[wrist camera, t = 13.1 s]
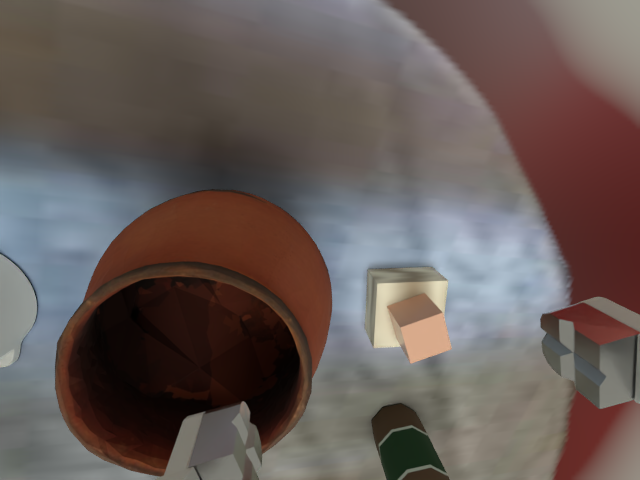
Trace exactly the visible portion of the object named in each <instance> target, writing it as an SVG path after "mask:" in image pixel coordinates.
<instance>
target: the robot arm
mask: <svg viewBox="0 0 640 480" xmlns="http://www.w3.org/2000/svg"><path fill="white" fill-rule="evenodd" d="M36 314H37V301H36V297H35V293H34V290H33V288H32V286H31V284H30V282H29V281H28V279H27V278H26V276H25V275H24V274H23V272H22V271H21V270H20V269H19V268H18V267H17V266H16V265H15V264H14V263H12V262H11V261H10V260H9V259H7V258H6V257H4V256H3V255H1V254H0V367H7V366H9V365H11V364H12V363H14V362H15V361H16V360H17V359H18V357H19V354H20V348H21V342H22V340H23V339H24V337H25V336H26V335H27V334H28V332H29V331H30V330H31V328H32V326H33V324H34V322H35V319H36ZM540 320H541V328H542V329H543V330H544V331H545V332H546V335H545V337H544V338H543V340H542V350H543V354H544V356H545V358H546V360H547V362H548V364H549V365H550V366H551V367H552V369H553V370H554V371H555V372H556V373H558V374H559V375H560V376H561V377H563V378H566V379H569V380H572V381H574V382H575V387H576V390H577V391H579V392H580V393H581V394H582V395H583V396H585V397H586V398H587V399H588V400H590V401H591V402H592V403H593V404H594V405H595V406H597V407H598V408H599V409H602V408H605V407H609V406H613V405H616V404H620V403H624V402H628V401H631V400H635V402H637V403H639V404H640V315H638V314H636V313H634V312H632V311H630V310H628V309H626V308H624V307H622V306H620V305H618V304H616V303H614V302H612V301H610V300H608V299H606V298H601V297H595V298H592V299H589V300H585V301H582V302H579V303H578V304H574V305H571V306H568V307H564V308H561V309H558V310H554V311H551V312H547V313H544V314H542V317H541V319H540ZM249 421H250V411H249V408H248V406H247V404H246V402H244V401H241V402H238V403H234V404H230V405H226V406H223V407H219V408H215V409H211V410H208V411H206V412H201V413H198V414H194V415H190V416H187V417H186V418H185V419H184V420H183V422H182V425H181V428H180V431H179V434H178V437H177V439H176V442H175V445H174V448H173V451H172V454H171V456H170V459H169V462H168V465H167V468H166V471H165V474H164V476H161V477H158V478H157V479H156V480H259V478H258V476H257V473H258V471H259V469H260V468H261V466H262V449H261V441H260V437H259V433H258V430H257V428H256V426H255V425H254V424H252V423H250V422H249Z"/></svg>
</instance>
